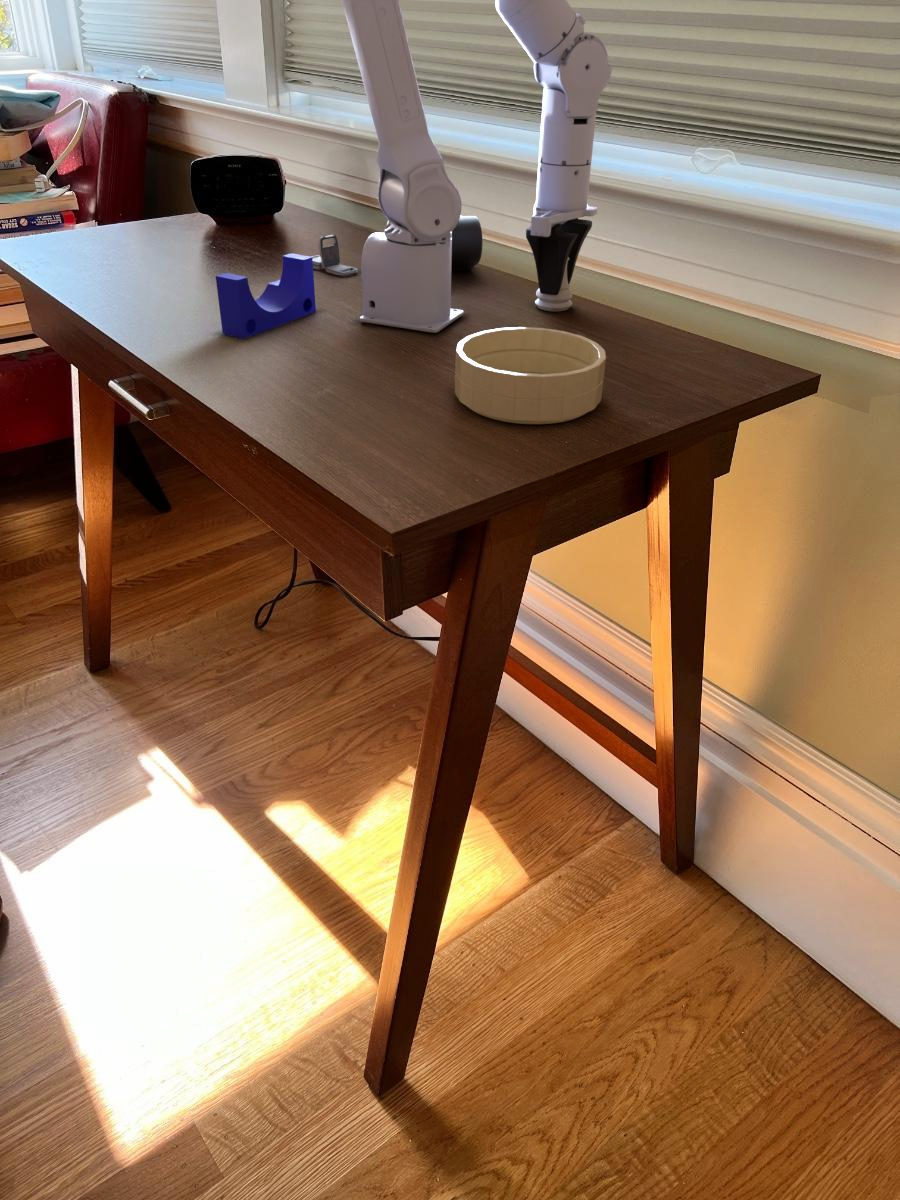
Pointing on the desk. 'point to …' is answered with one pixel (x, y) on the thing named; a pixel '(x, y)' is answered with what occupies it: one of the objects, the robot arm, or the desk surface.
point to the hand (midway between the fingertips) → (554, 289)
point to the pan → (529, 374)
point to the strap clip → (331, 259)
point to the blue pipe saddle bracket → (267, 299)
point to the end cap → (466, 243)
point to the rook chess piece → (556, 297)
